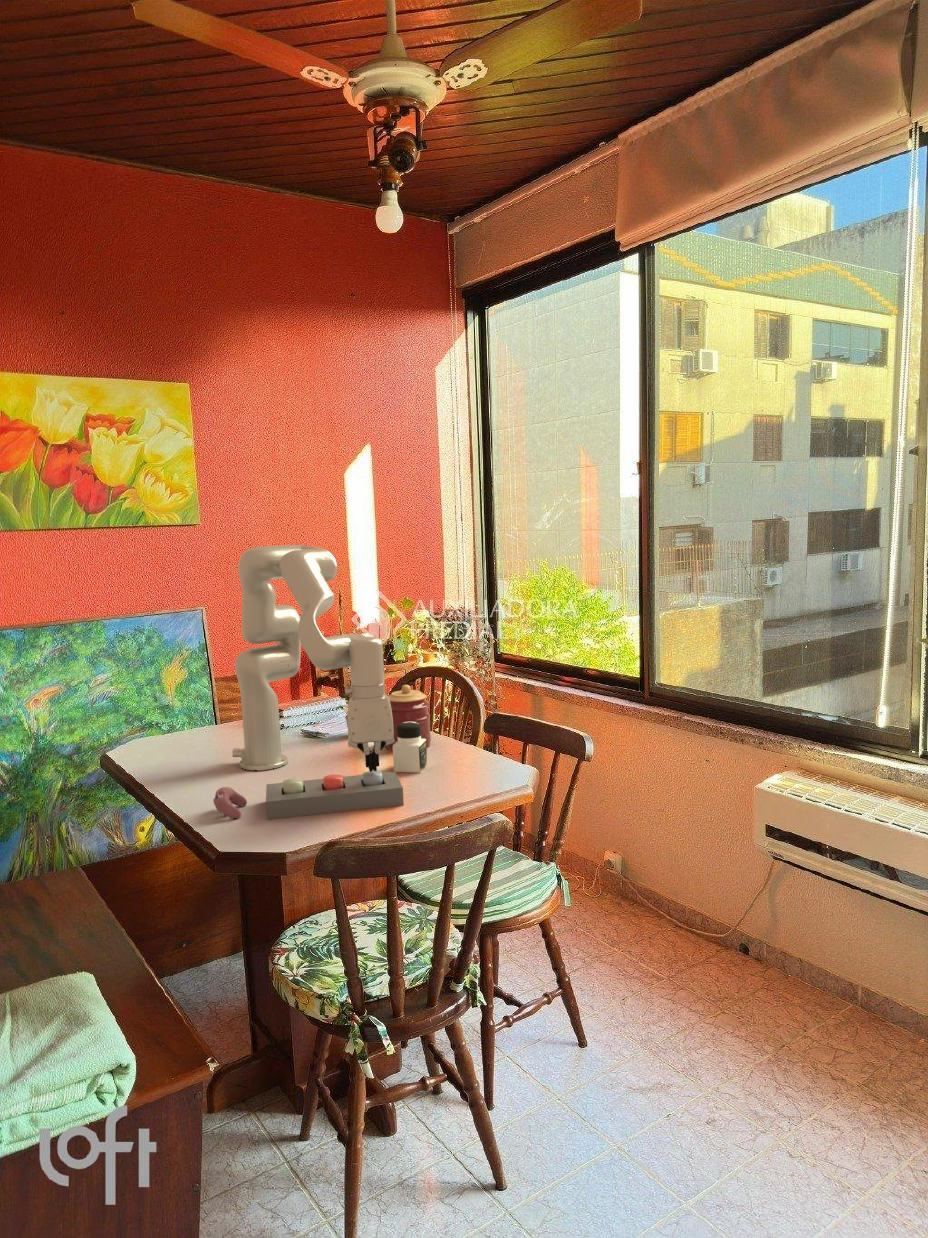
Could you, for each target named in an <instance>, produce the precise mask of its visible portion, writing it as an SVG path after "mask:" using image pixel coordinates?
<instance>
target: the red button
mask: <svg viewBox="0 0 928 1238" xmlns="http://www.w3.org/2000/svg"><path fill="white" fill-rule="evenodd" d="M343 777H344V776H343V775H342V774H330V775H329V774H328V775H326V776H324V777H323V778H322V779H323V781H324V790H333V789H343Z"/></svg>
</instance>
